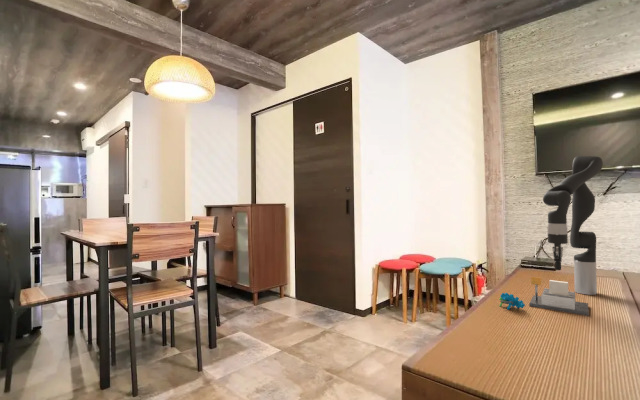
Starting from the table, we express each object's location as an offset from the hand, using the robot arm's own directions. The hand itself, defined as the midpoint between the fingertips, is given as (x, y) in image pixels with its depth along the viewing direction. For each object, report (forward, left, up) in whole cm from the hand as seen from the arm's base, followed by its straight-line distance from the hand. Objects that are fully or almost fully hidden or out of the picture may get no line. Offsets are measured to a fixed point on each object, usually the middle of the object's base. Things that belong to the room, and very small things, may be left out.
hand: (558, 269), depth 148 cm
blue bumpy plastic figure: (+17, -17, -17) cm, 30 cm away
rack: (0, 0, -17) cm, 17 cm away
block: (0, 0, -15) cm, 15 cm away
